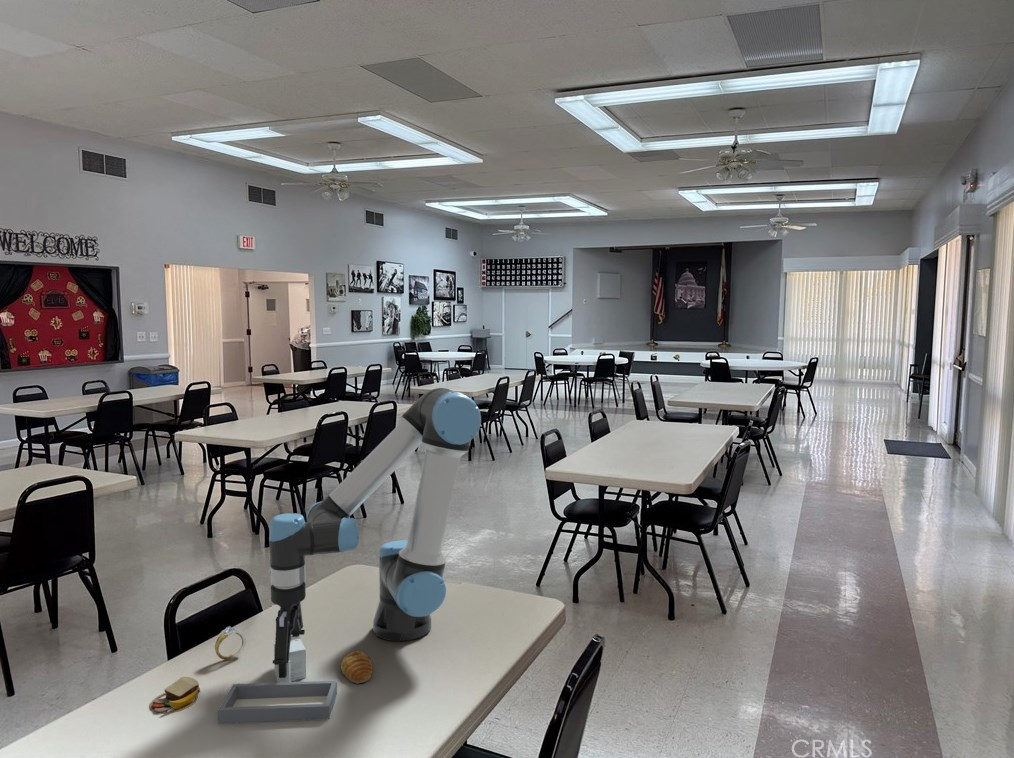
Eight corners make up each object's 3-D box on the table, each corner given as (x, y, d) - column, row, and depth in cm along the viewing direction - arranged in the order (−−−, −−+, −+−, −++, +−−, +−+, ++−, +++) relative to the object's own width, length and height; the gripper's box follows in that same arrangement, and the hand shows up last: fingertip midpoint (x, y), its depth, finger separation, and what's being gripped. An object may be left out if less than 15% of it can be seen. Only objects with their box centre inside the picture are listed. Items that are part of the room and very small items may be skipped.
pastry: (378, 682, 158) (378, 666, 157) (348, 688, 155) (348, 672, 154) (366, 662, 166) (367, 647, 166) (338, 668, 163) (338, 652, 162)
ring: (216, 666, 165) (215, 633, 164) (214, 660, 167) (213, 628, 167) (247, 658, 168) (246, 626, 168) (244, 653, 171) (243, 621, 170)
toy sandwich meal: (141, 707, 148) (140, 691, 148) (187, 686, 156) (186, 671, 156) (164, 722, 142) (163, 706, 142) (210, 700, 150) (210, 685, 150)
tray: (337, 695, 152) (337, 680, 152) (329, 722, 142) (329, 706, 142) (233, 699, 150) (233, 684, 150) (218, 726, 140) (217, 710, 140)
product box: (274, 673, 161) (273, 643, 161) (301, 667, 164) (300, 637, 164) (279, 686, 156) (278, 654, 155) (306, 679, 159) (306, 648, 158)
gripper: (283, 564, 169) (285, 651, 171) (256, 604, 146) (259, 704, 148) (314, 564, 170) (316, 650, 172) (293, 604, 147) (295, 703, 149)
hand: (290, 675), depth 160 cm, fingers open, 11 cm apart
